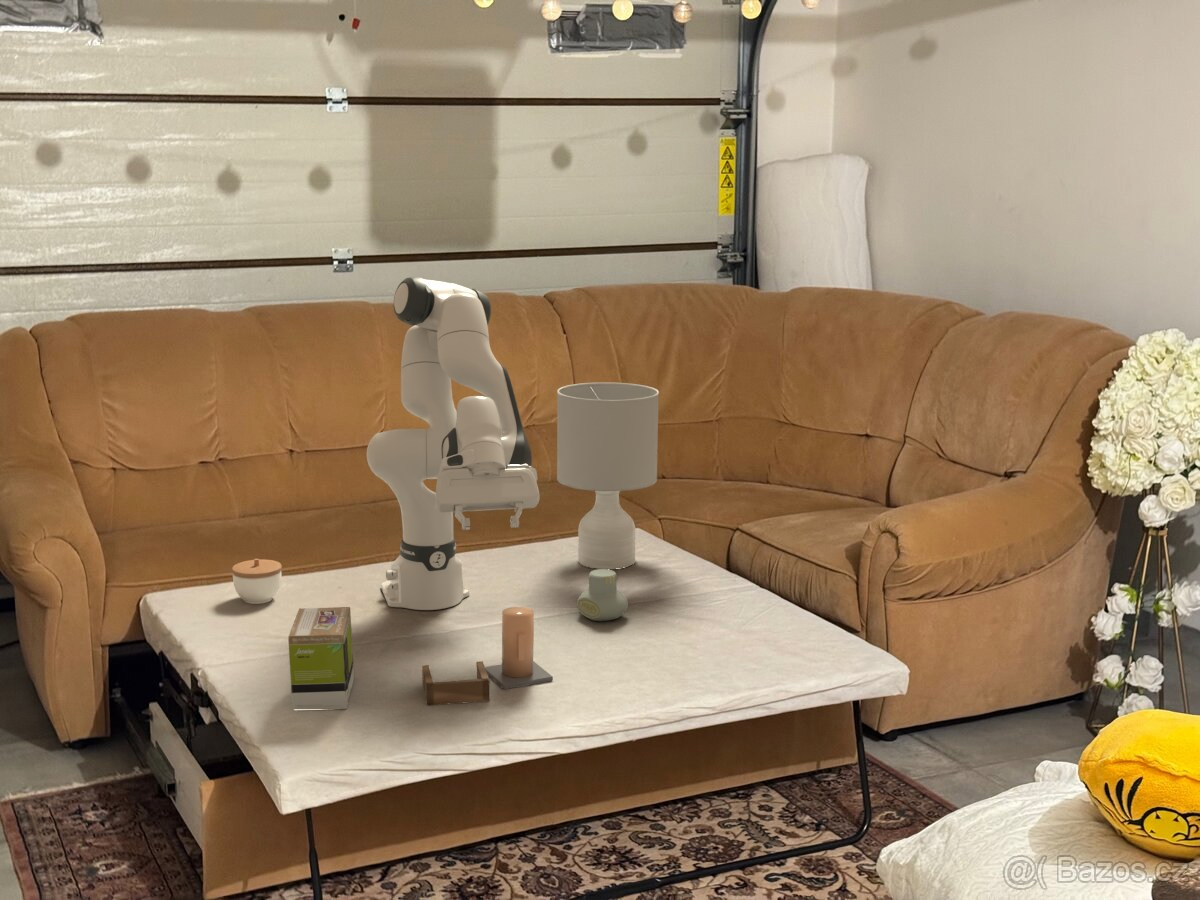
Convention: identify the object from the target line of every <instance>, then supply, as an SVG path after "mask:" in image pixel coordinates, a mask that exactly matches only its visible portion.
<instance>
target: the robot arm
mask: <svg viewBox="0 0 1200 900" xmlns="http://www.w3.org/2000/svg"><path fill="white" fill-rule="evenodd" d="M393 311H394V313H395V316H396V318H397V319H398V320H399V321H400V322H403V323H405V324H407V325H408V326H411V327H410V328H409V329H407V332H406V333H405V335H404V339H403V345H402V351H401V361H400V362H401V363H400V400H401V404H402V406H403V408H404V409H405V410H406V411H407V412H408V413H409V414H411V415H413V416H415V417H418V418H419V419H422V420H423V421H425V422H426V423H427V424H428V425H429V428H428V427H427V428H397V429H396V428H395V429H390V430H386V431H382V432H377V433H375V434H374V435H373V436H372V438H371V439H370V440H369V442H368V445H367V448H366V461H367V464H368V467H369V469H370V471H371V472H372V473H373V474H374V475H375V476H376V477H377V478H378V479H380V480H381V481H383V482H384V483H386V485H387V486H388V487H390V489H391V490H392V492H393V494H394V495H395V496H396V499H397V501H398V503H399V504H398V505H399V507H400V512H401V522H402V537H401V541H400V542H401V543H400V545H399V546H400V547H399V549H400V550H399V556H398V557H397V558H396V559H395V560H394V561H393V562H392V563H391V566H390V569H387V570H385V579H386V580H385V581H383V582H382V583H381V585H380V589H381V591H382V593H383V596H384V599H385V601H386V603H387V606H389V607H391V608H404V609H409V610H417V611H434V610H436V611H437V610H442V609H447V608H451V607H454V606H456V605H458V604H459V603H461V602H462V600H463V599H464V598H467V597H469V596H470V590H469V589H467V588H464V578H463V576H464V575H463V567H462V565H463V564H462V561H461V560H460V559H459V558H458V557H456V552H457V551H456V550H457V544H456V538H455V537H454V517H455V518H456V519H457V520H458V522H459V523H460V524H461V530H462V531H467V530H471V521H470V519H471V518H470V517H465V515H464V514H463V512H478V511H497V510H514V513H515V515H510V519H509V522H510V523H509V524H510V528H520V517H521V515H522V513H523V509H534V508H536V507H537V506H538V505H539V501H540V490H539V486H538V483H537V482H538V479H539V477H538V471H537V469H536V468H534V467H533V465H532V459H533V458H532V457H533V456H532V450H531V446H530V443H529V441H528V438H527V436H526V433H525V430H524V426H523V422H522V419H521V416H520V415H521V414H520V411H519V407H518V403H517V399H516V395H515V391H514V388H513V383H512V381H511V378H510V375H509V372H508V370H507V368H506V367H505V366H504V365H502V364H501V363H500V362H499V361H498V360H497V359H496V357H495V355H494V353H493V352H492V348H491V345H490V335H489V326H488V325H489V323H490V320H491V315H492V304H491V302H490V299H489V296H487V295H486V294H485V293H483V292H481V291H479V290H477V289H475V288H468V287H466V286H463V285H460V284H457V283H454V282H449V281H441V280H433V279H425V278H424V277H416V276H415V277H410V276H409V277H406V278H404V279H403V280H402V281H401V282H400V283H399V284H398V286H397V288H396V290H395V293H394V297H393ZM452 381H454V383H455V382H456V383H457V384H459V385H461V386H462V387H463V386H464V387H465V388H466V387H467V388H469V389H472V390H474V391H475V392H478V393H480V394H482V395H469V396H465V397H463V398H461V399H460V400H459V401H458V403H457V405H456V406H455V403H454V398H453V390H452V389H453V387H452ZM427 479H428V480H436V486H435V491H432V490H431V489H429V488H428V487H427V486H426V485H425V483H424V481H425V480H427Z"/></svg>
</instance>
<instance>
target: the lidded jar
mask: <svg viewBox="0 0 1200 900" xmlns="http://www.w3.org/2000/svg"><path fill="white" fill-rule="evenodd" d="M282 569H283V566H282V563H280V562H279V561H277V560H272V559H264V558H263V559H261V558H260V559H259V558H254V559H251V560H244V561H241V562H238V563H236V564H234V565H233V566H232V567H231V573H232V581H233V586H234V589H235V592H236V593H237V595H238V596H239V597H240V599H243V601H244V603H247V604H251V605H261V604H266V603H269V602H271V601H273V599H274V597H275V596H276V595H277V594H278V592H279V591H280V588H281V584H282Z"/></svg>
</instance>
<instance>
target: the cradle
mask: <svg viewBox="0 0 1200 900" xmlns="http://www.w3.org/2000/svg"><path fill="white" fill-rule="evenodd" d="M475 663H476V665H475V666H476V679H475V678H474V679H462V680H461V679H460V680H449V681H448V680H447V681H445V680H444V681H433V677H432V673H431V668H430V666H429V664H425V665H424V664H423V665H421V668H422V669H421V673H422V678H421V679H422V680H421V681H422V688H423V693H424V694H423V695H424V697H425V701H426V702H427V703H426V702H425V703H426V706H427V705H428V706H439V705H438V704H441V705H449V704H448V703H455V704H464V703H463V702H468V703H475V702H474V701H482V702H489V701H488V700H490V699H491V698H490V696H491V695H490V693H491V692H490V677H489V675H488V674H487V672H486V669H485V667H486V666H485V664H484V661H483V660H482V661H481V660H480V661H476V662H475Z"/></svg>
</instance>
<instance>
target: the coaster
mask: <svg viewBox="0 0 1200 900" xmlns="http://www.w3.org/2000/svg"><path fill="white" fill-rule="evenodd" d="M485 669H486V672H487V675H488V677H489V678H491V679H492V678H493V679H494V680H495V681H496V683H497V684H498V685H499V686H500V688H502V687H503V688H504V689H503V688H502V689H503V690H508V689H507V688H509V689H514V688H519V687H525V686H531V685H534V684H535V683H536V684H541V682H542V683H546V682H545V681H547V682H551V681H552V680H553V679H554V677H553V675H552V674H550V673H549V672H548V671H547V670H545V669H544V668H543V667H541V666H540V665H539V664H538V663H537V662H535V661H534V660H533V673H532V674H531V675H529V676H526V677H509V676H506V675H504V674H503V673H502V663H500V664H496V665H495V664H494V665H491V666H490V665H489V666H485ZM493 679H492V680H493ZM494 680H493V681H494ZM495 681H494V682H495ZM552 682H553V681H552ZM536 684H535V685H536ZM524 685H525V686H524Z"/></svg>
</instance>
